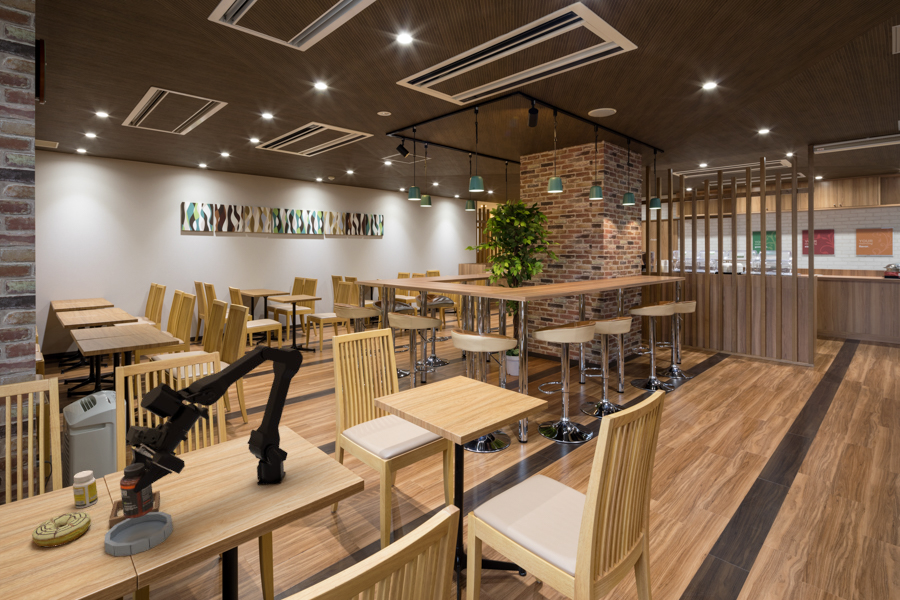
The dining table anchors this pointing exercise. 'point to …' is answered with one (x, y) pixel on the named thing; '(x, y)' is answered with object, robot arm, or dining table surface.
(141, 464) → the supplement bottle
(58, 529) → the decorated donut
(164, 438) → the robot arm
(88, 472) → the supplement bottle
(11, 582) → the dining table surface
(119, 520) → the tray
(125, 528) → the dish
